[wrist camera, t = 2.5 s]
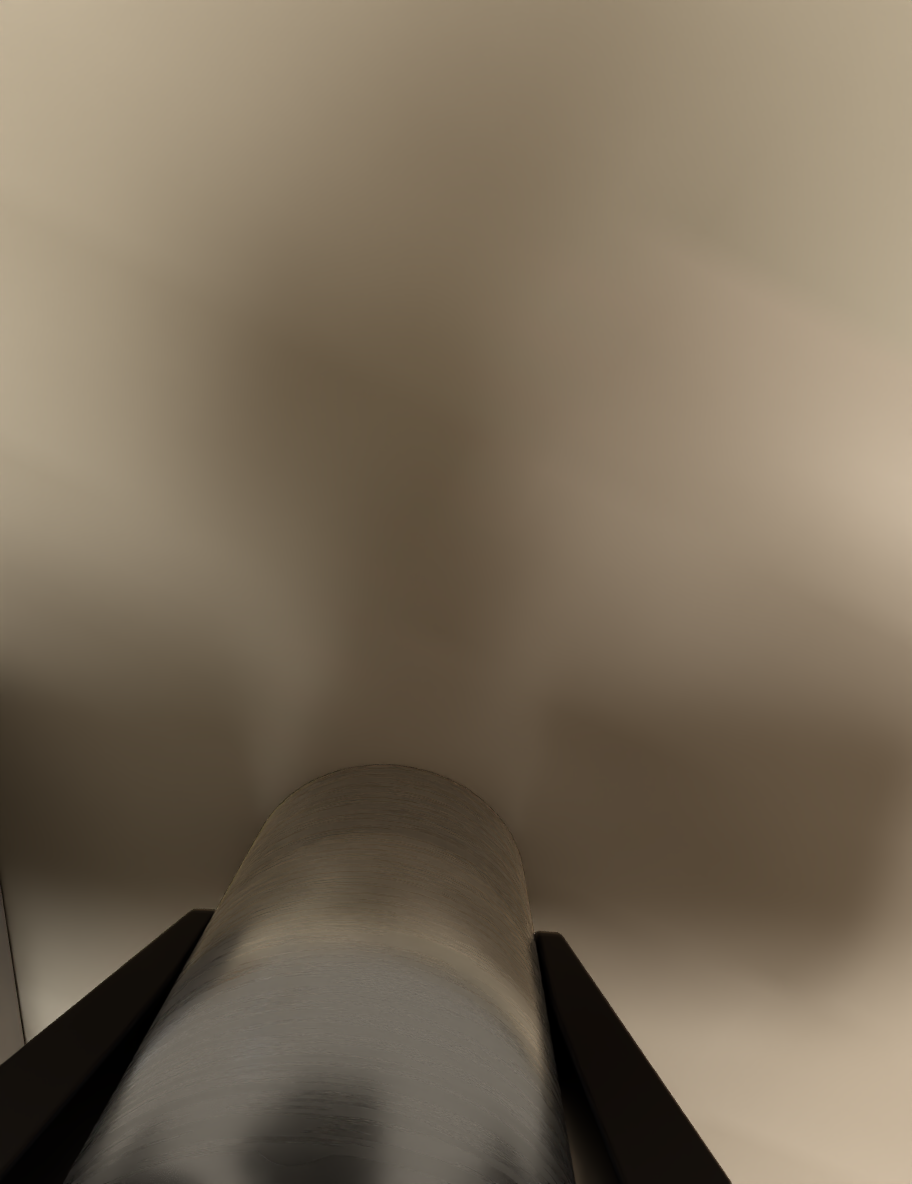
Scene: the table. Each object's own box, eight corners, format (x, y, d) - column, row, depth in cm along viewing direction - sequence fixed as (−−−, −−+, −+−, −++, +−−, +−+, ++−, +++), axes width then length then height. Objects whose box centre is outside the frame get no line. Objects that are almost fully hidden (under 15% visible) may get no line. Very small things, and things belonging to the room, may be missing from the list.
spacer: (510, 1006, 10) (563, 1557, 5) (250, 988, 10) (31, 1529, 5) (538, 775, 9) (649, 1181, 4) (245, 754, 8) (-49, 1138, 4)
